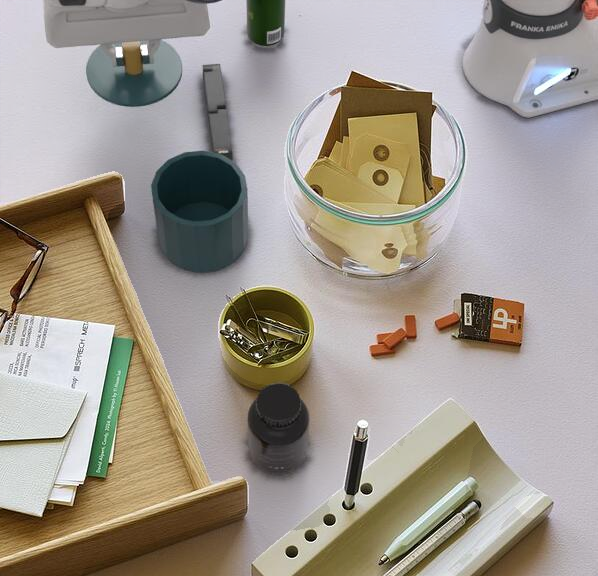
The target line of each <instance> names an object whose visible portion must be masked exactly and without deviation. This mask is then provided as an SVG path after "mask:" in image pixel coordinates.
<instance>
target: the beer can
mask: <svg viewBox="0 0 598 576" xmlns="http://www.w3.org/2000/svg"><path fill="white" fill-rule="evenodd" d="M245 1H246V34H247V38H248V40H249V41H250V42H251V43H252V45H254V46H255V47H257V48H260V49H272V48H275V47H277V46H278V45H280V43H281V42H282V40H283V39H284V37H285V32H286V31H285V30H286V29H285V26H286V25H285V24H286V0H245Z"/></svg>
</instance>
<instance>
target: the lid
mask: <svg viewBox="0 0 598 576" xmlns="http://www.w3.org/2000/svg"><path fill="white" fill-rule="evenodd" d="M148 41H149V40H147V41H135V42H124V43H112V44H113V45H114V46H115V47H122V53H123V59H124V66H118V67H113V63H112V58H110V57H109V56H108V55H107V54H106V53H105V52H104V51H103V50H102V49H101V44H100V45H97V47H96V48H95V49H94V50H93V51H92V53H91V54H90V55H89V57H88V59H87V62H86V67H85V74H86V79H87V80H86V81H87V83H88V85H89V87H90V88H91V90H92V91H93V92H94V93H95V94H96V96H98V97H99V98H101V99H103V100H104V101H106V102H107V103H111V104H112V105H116V106H120V107H127V108H140V107H145V106H150V105H153V104H155V103H158V102H160V101H162V100H165V99H166V98H167V97H169V96H170V95H171V94H172V93H174V91H175V90H176V89H177V87H178V86H179V84H180V83H181V79H182V77H183V62H182V59H181V57H180V55H179V54H178V52H177V50H176V49H175V48H174V47H173V46H172V45H170V44H169V43H168V42H167V41H165V40H164V39H160V43H161V44H160V46H159V47H158V49H157V50H156V52H155V53H154V54H153V58H154V63H153V64H143V62H142V54H141V45H147V43H148Z"/></svg>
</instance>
